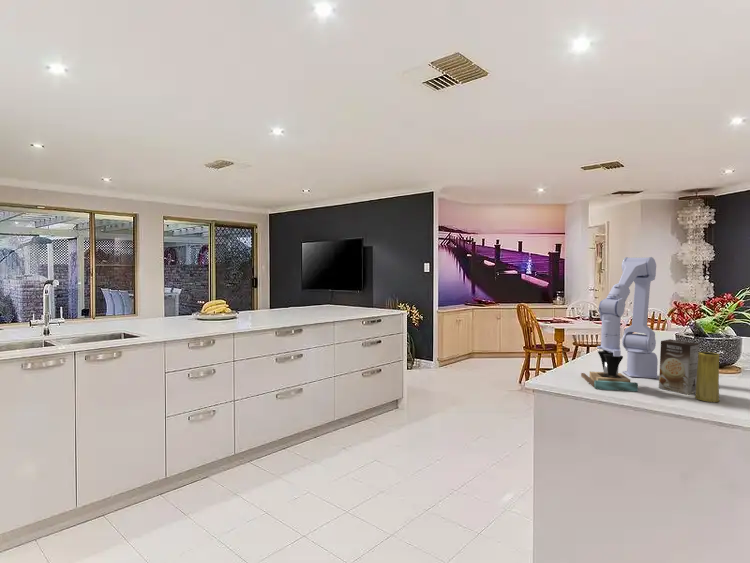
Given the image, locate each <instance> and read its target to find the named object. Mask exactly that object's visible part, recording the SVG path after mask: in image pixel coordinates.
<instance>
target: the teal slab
mask: <svg viewBox="0 0 750 563" xmlns="http://www.w3.org/2000/svg"><path fill="white" fill-rule="evenodd" d="M580 374H581V378H583V379H584V380H585V381H586V382H587V383H588V382H589V383H590V384H591V385H590V386H591V387H592V388H593V389H595V390H610V391H624V392H638V390H639V383H638V382H635V381H634V382H632V381H630V382H617V381H598V380H594V381H593V380H592V379H591V378H589V377H590V376H588V374H586V373H584V372H581V373H580ZM589 383H588V384H589Z"/></svg>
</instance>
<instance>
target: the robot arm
mask: <svg viewBox="0 0 750 563" xmlns="http://www.w3.org/2000/svg"><path fill="white" fill-rule="evenodd" d="M621 272H622V274H621V276H620V279H619V280H618V283H616V284H613V286H612V287H611V288H610V291H609V292H608V295H606V298H603V299H601V301H600V302H599V304H598V313H599V319H600V320H601V334H600V335H601V336H600V338H601V339H600V345H597V346H596V348H597V349H599V350H598V351H597V353H598V355H599V357H600V360H601V365H602V370H603V371H604V361H606V363H607V371H608V375H610V376H615V375H616V372H617V369H618V370H619V368H618V366H620V363H621V361H622V360H623V359H624V356H623V355H621V354H622V353H621V344H622V347H623V348H624V349H625V351H627V355H626V356H627V358H626V370H622V373H624V374H625V375H627V377H628V376H629V377H630V378H634V377H635V378H648V379H659V377H658V364H659V361H658V355H657V354H656V353H655V352H653V351H655V349H656V344H657V340H656V332H655V331H654V330H653V329H652V328H651V327H649V326H648V318H649V317H648V316H649V305H650V292H651V291H650V289H651V282H652V281H655V279H656V274H657V263H656V259H655V258H654V257H652V256H650V257H627V256H626V257H624V258H623V260H622V262H621ZM633 283H634V290H633V292H634V294H633V304H632V305H633V307H632V318H631V319H632V320H631V325H629V326H627V327H626V328H625V329H624V331H623V336H622V338H621V320H622V319H621V317H622V316H623V315H624V312H625V308H626V301H627V300H628V298H629V296H630V293H631V290H630V287H631V286H632V284H633Z"/></svg>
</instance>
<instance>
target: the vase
mask: <svg viewBox="0 0 750 563" xmlns="http://www.w3.org/2000/svg"><path fill="white" fill-rule="evenodd" d="M719 377H720V353H716V352H712V351H698V366H697V381H696V392H695V396H694V398H695V399H696V400H698V401H702V402H706V403H707V402H708V403H718V402H720V382H719V380H720V378H719Z"/></svg>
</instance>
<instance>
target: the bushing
mask: <svg viewBox="0 0 750 563" xmlns="http://www.w3.org/2000/svg"><path fill="white" fill-rule="evenodd" d="M619 366H620V365H619ZM619 366H618V369H617V372H616V375H615V376H610V375H608V371H607V363H606V361H604V370H603V372H604V376H603V377H608V378H618V373H619Z"/></svg>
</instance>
